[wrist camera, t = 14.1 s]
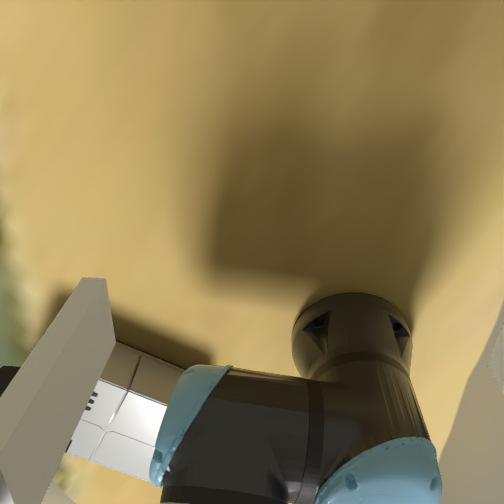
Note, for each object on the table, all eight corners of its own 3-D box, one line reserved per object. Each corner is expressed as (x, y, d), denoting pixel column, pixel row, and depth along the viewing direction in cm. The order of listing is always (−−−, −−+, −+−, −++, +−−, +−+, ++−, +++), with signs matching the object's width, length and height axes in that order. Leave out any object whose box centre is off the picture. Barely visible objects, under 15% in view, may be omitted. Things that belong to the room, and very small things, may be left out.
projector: (67, 316, 61) (41, 356, 54) (215, 377, 65) (208, 422, 58) (37, 392, 69) (11, 436, 62) (171, 442, 73) (160, 489, 66)
